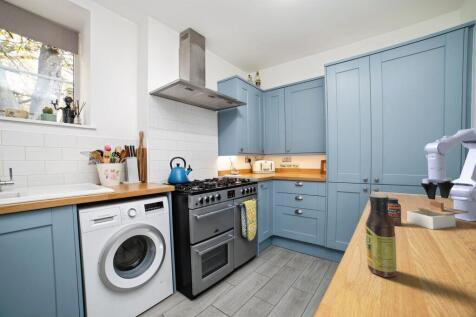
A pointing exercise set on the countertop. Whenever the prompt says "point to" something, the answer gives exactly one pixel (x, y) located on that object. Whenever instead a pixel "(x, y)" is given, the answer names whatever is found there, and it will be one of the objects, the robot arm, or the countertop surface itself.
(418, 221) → the carton
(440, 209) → the lid
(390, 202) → the supplement bottle
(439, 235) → the countertop surface
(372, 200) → the sauce bottle
